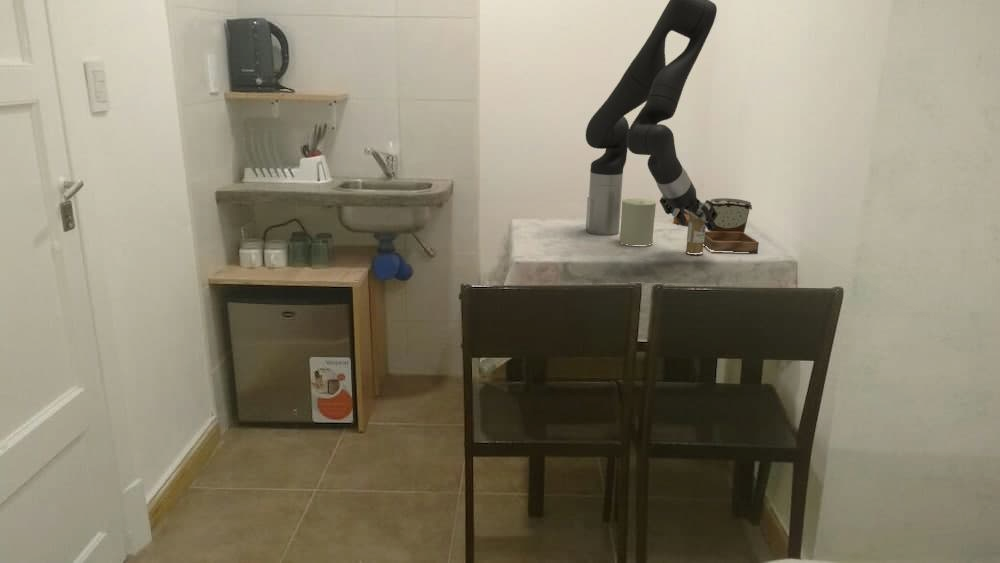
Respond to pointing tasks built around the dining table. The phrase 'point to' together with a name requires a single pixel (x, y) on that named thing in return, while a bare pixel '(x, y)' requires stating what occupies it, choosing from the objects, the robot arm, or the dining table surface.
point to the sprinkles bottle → (695, 234)
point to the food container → (730, 214)
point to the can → (637, 221)
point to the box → (730, 242)
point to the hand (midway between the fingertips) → (697, 225)
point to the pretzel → (686, 220)
